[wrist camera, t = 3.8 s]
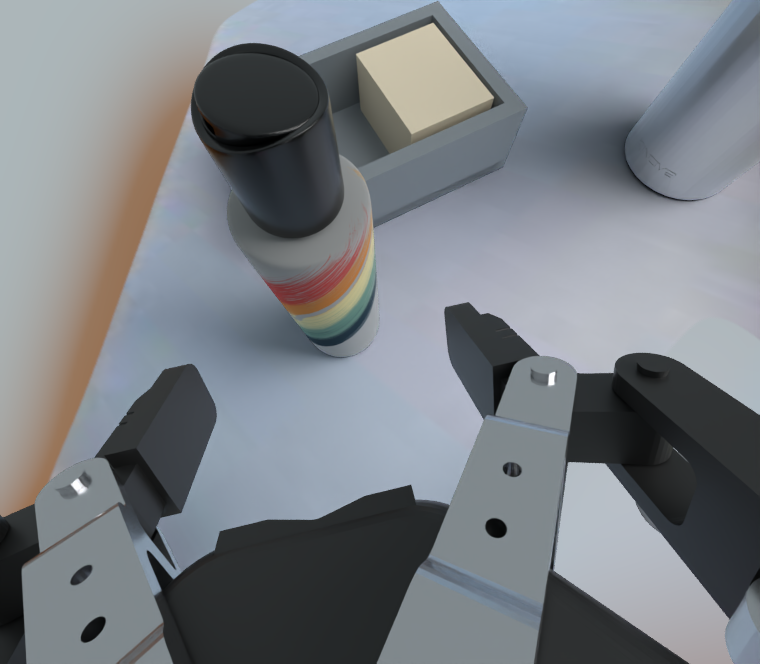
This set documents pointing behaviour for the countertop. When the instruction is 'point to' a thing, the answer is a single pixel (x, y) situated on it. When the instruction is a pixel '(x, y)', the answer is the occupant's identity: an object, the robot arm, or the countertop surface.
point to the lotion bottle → (292, 191)
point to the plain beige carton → (417, 87)
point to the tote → (433, 154)
